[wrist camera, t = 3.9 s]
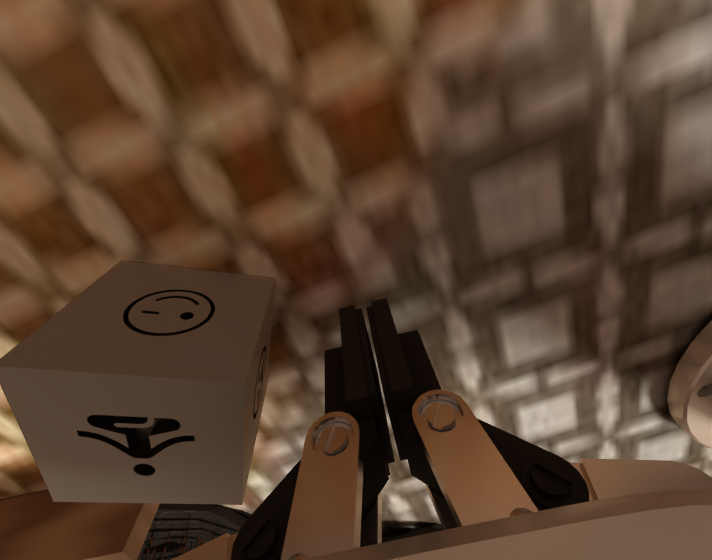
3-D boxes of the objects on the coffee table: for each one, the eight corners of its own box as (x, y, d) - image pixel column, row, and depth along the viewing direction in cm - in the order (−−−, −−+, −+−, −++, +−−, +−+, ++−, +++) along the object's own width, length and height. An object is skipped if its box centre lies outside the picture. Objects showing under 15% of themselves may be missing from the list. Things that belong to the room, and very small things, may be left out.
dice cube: (275, 276, 12) (245, 383, 8) (268, 378, 14) (242, 504, 10) (122, 259, 11) (-9, 366, 7) (142, 369, 13) (53, 501, 9)
